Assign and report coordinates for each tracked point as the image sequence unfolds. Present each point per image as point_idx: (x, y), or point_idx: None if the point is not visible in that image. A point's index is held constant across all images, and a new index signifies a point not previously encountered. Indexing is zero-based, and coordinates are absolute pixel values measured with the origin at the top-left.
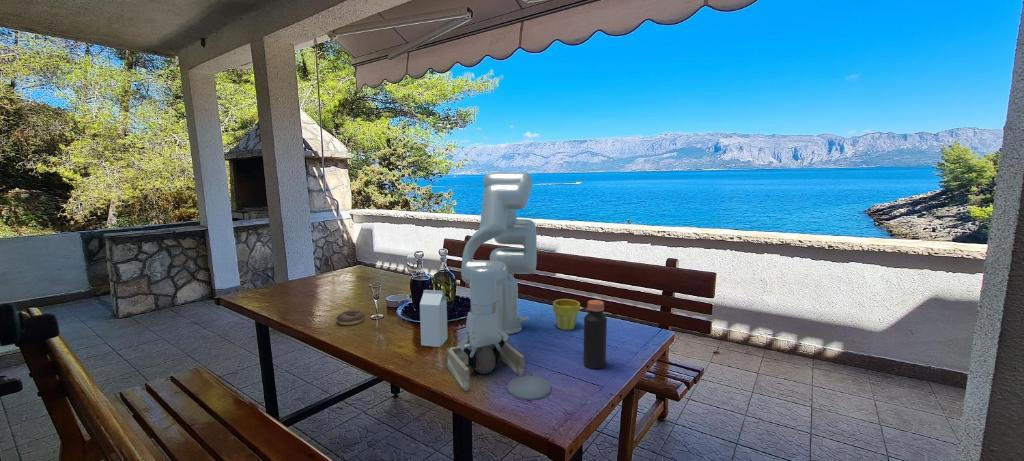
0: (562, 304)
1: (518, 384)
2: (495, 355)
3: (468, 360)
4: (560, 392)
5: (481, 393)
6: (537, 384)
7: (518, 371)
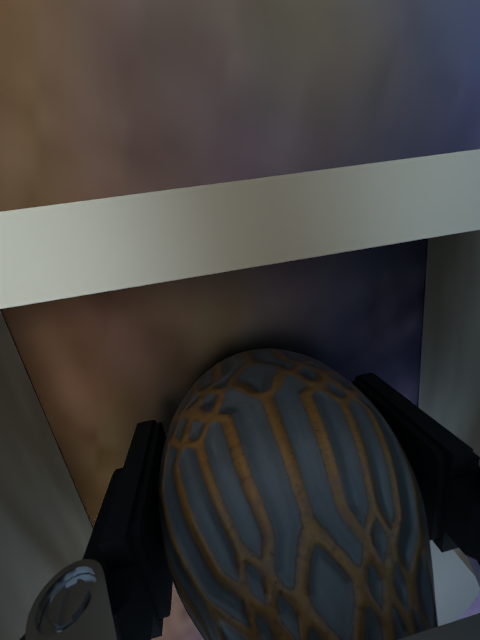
0: None
1: None
2: None
3: (105, 507)
4: (473, 613)
5: (175, 608)
6: (436, 590)
7: None
